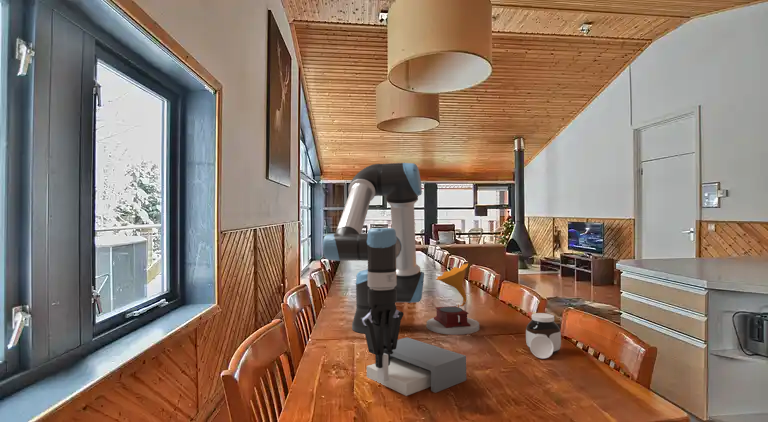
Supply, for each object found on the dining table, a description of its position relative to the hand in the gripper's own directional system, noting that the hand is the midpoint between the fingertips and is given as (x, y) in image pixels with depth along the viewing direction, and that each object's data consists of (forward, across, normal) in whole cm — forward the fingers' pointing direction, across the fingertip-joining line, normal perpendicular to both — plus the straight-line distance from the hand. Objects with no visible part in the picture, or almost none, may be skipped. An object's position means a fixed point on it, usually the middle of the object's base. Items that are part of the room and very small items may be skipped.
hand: (383, 379), depth 108 cm
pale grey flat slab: (+2, +6, 0) cm, 6 cm away
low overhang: (+2, +13, 0) cm, 13 cm away
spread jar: (+2, +54, -14) cm, 56 cm away
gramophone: (+2, +57, +26) cm, 63 cm away
